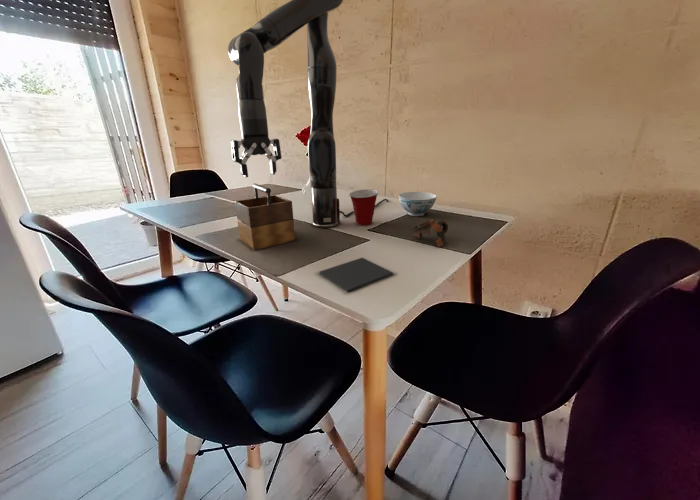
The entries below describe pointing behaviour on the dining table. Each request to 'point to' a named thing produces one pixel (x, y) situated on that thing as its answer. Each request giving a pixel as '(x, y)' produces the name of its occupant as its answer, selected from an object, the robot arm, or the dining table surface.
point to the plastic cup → (364, 205)
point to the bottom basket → (267, 234)
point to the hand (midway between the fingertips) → (259, 175)
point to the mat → (355, 274)
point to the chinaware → (417, 202)
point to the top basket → (263, 209)
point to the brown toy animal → (435, 226)
